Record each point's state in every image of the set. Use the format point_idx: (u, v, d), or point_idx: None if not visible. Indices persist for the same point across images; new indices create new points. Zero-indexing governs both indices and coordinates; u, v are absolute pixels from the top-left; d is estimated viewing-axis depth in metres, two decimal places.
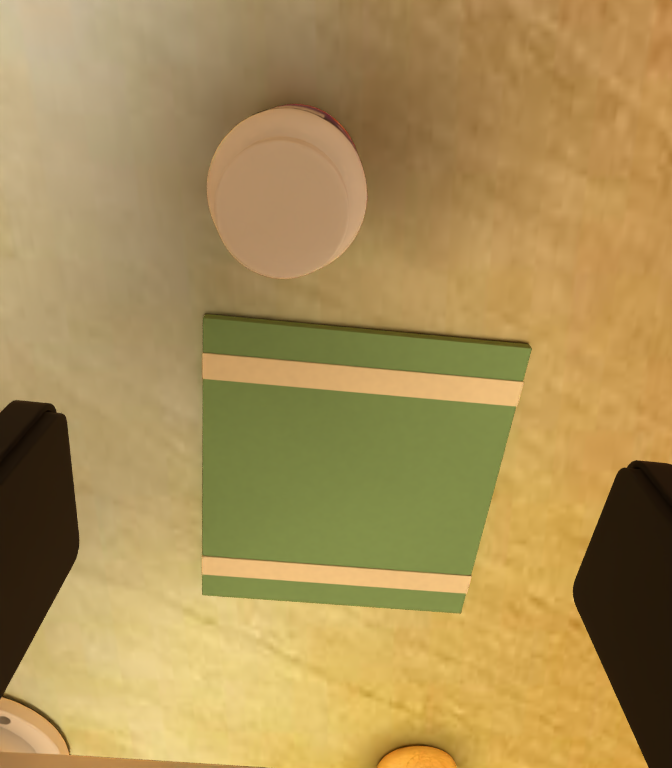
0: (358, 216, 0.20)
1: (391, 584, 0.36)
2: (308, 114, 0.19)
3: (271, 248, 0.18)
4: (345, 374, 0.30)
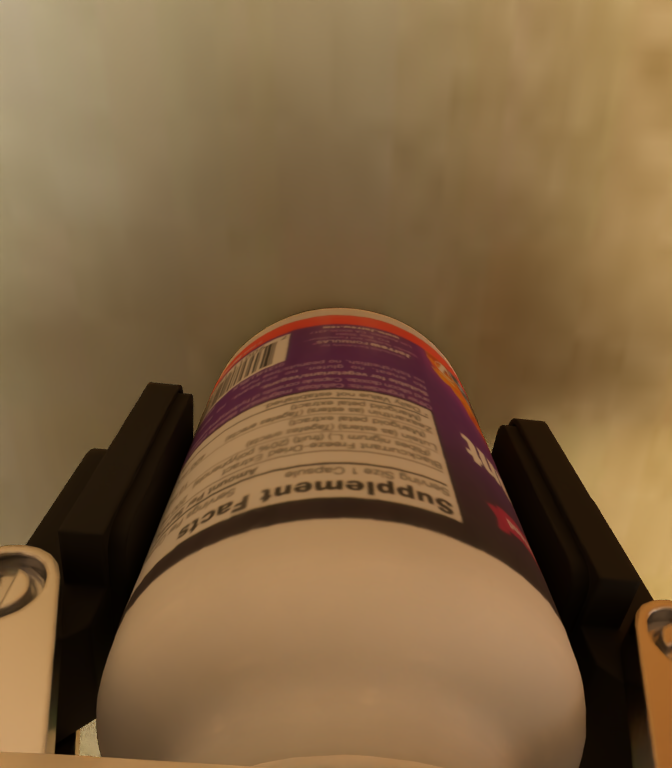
0: None
1: None
2: (430, 570, 0.05)
3: None
4: None
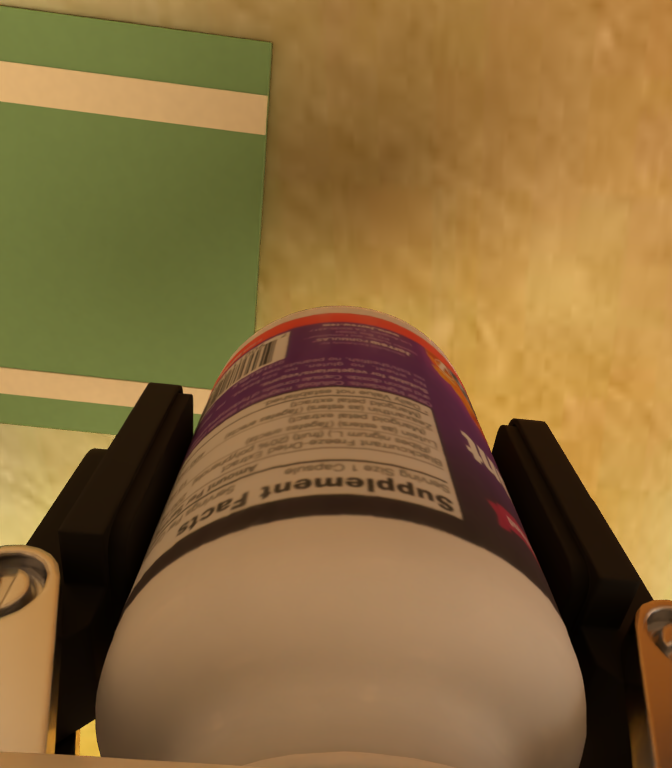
0: None
1: None
2: (430, 567, 0.05)
3: None
4: (32, 80, 0.23)
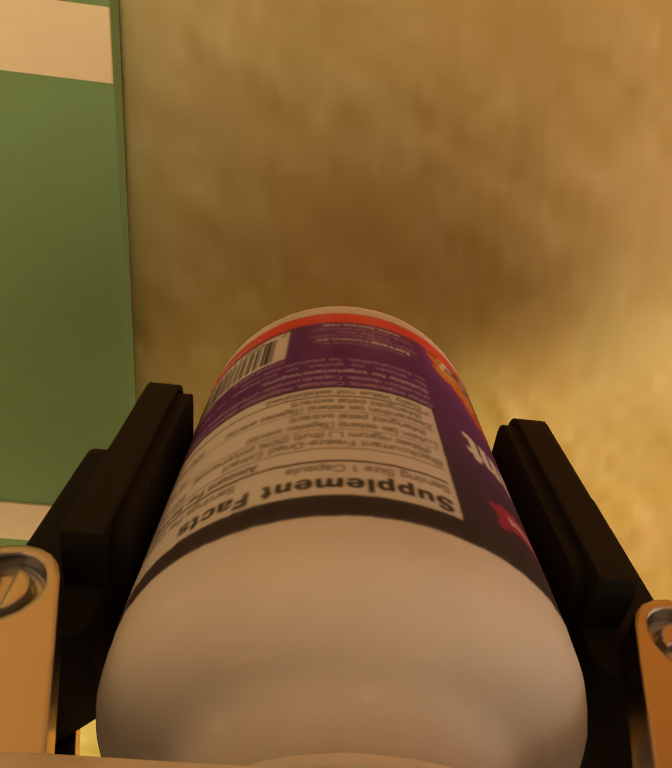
0: None
1: None
2: (431, 567, 0.05)
3: None
4: None
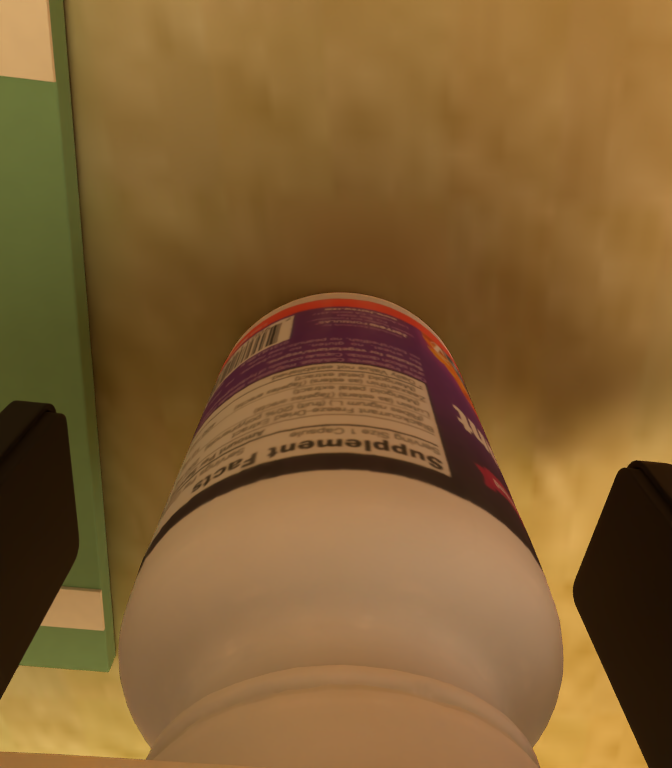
0: None
1: None
2: (420, 513, 0.06)
3: None
4: None
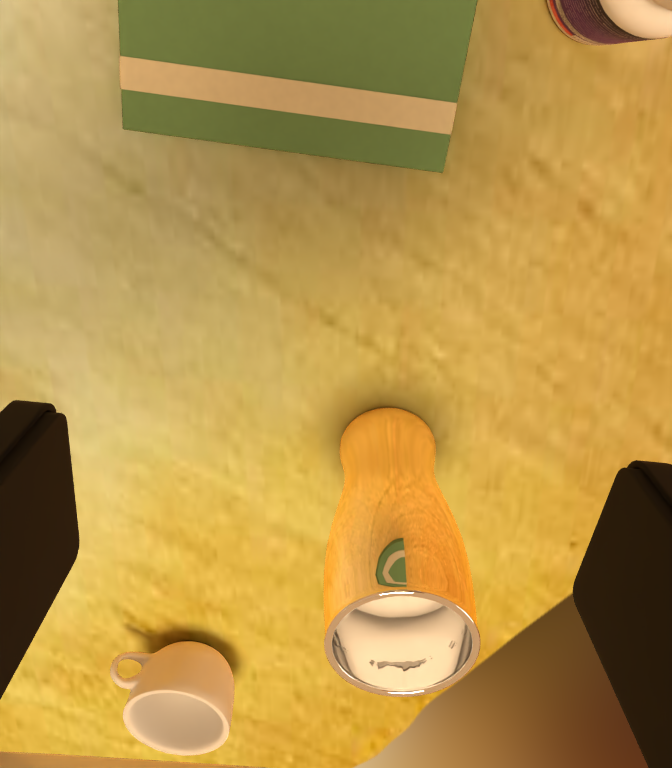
0: None
1: (356, 115, 0.29)
2: None
3: None
4: None
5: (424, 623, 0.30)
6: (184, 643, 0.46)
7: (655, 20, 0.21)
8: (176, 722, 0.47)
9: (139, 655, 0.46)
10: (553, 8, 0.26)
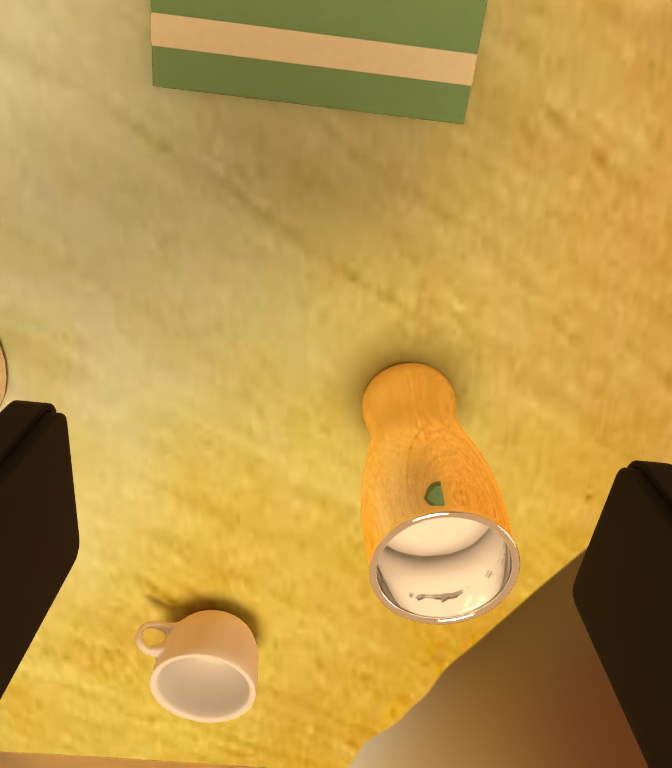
0: None
1: (380, 67, 0.30)
2: None
3: None
4: None
5: (458, 560, 0.31)
6: (207, 611, 0.47)
7: None
8: (200, 691, 0.47)
9: (163, 624, 0.46)
10: None
